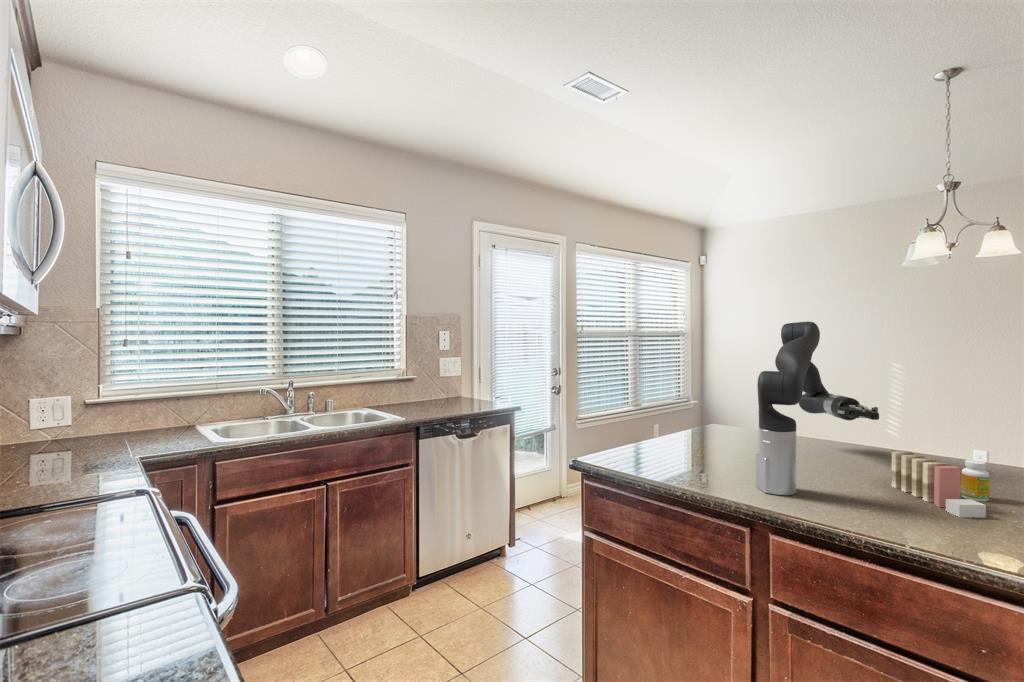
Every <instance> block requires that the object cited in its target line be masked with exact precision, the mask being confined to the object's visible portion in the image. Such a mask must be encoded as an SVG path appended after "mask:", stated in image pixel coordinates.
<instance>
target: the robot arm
mask: <svg viewBox="0 0 1024 682" xmlns="http://www.w3.org/2000/svg"><path fill="white" fill-rule="evenodd" d="M780 331H781V332H780V337H781V342H782V346H781V347H780V348H779V350H778V352H777V354H776V356H775V361H774V362H775V367H776V371H775V370H764V371H761V372H760V373H759V375H758V377H757V401H758V452H757V453H756V454H755V488H757V489H759V490H760V491H762V492H763V493H764V494H771V495H777V496H791V495H795V494H797V421H796V420H795V419H794V418H792V417H790V416H787V415H785V414H784V413H782V412H779V411H778V410H776V409H775V407H774V406H773V405H776V406H777V405H778V406H779V405H780V406H795V405H799V407H800V409H802V410H803V411H804V412H806V413H809V414H827V415H831V416H832V417H833V418H834V417H835V418H837V419H838V418H839V419H841V420H845V421H855V420H856V419H869V420H872V421H875V420H876V421H879V419H880V413H879V407H877V406H874V407H871V408H869V407H868V406H865V405H863V404H861V403H860V401H858V399H856V398H853V397H848V396H844V395H840V394H833V393H829V391H828V390H827V388H825V386H824V384H823V382H822V378H821V374H820V371H819V369H818V367H817V366H816V365H815V363H813V362H812V358H813V353H814V352H815V351H816V350H817V347H818V345H819V343H820V338H821V331H820V328H819V326H818V325H817V323H815V322H813V321H799V322H798V321H797V322H789V323H785V324H783V325H782V327H781V330H780ZM777 370H778V371H777ZM803 392H804V393H803Z"/></svg>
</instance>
